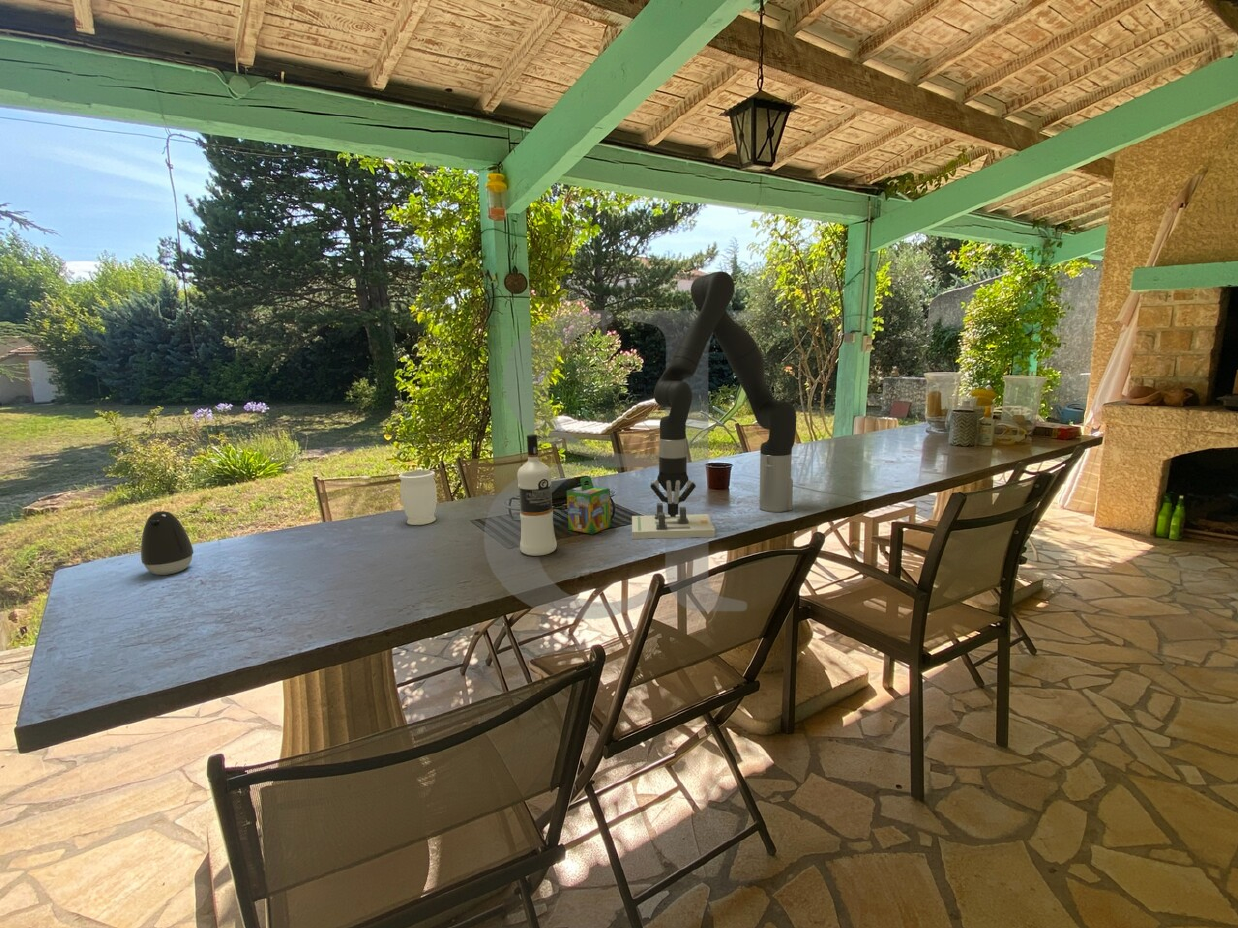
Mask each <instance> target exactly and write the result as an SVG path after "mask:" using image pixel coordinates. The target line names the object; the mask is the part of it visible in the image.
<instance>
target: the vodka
mask: <svg viewBox="0 0 1238 928" xmlns="http://www.w3.org/2000/svg"><path fill="white" fill-rule="evenodd" d="M526 442H527V443H526V446H527V462H525V463H524V464H523V465H521V466H520V467H519V468H518V470H517V474H516V476H517V481H518V483H517V486H518V492H519V509H520V513H519V517H520V530H521V531H520V542H519V549H520V551H521V552H522V553H523V554H524V555H527V556H529V557H530V556H531V557H540V556H545V555H549V554H551V553H554V551H555V550H556V549H557V547H558V546H557V545H558V544H557V543H558V542H557V538H556V535H555V528H554V516H553V515H554V511H553V499H552V498H553V497H552V472H551V469H550V467H549V465H546V464H545V463H543V462H542V461H540V459H539V447H538V446H539V445H538V444H539V443H538V435H537V434H532V433H530V434H527V435H526Z"/></svg>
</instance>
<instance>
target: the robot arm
mask: <svg viewBox="0 0 1238 928" xmlns="http://www.w3.org/2000/svg"><path fill="white" fill-rule="evenodd" d="M735 290H736V289H735V281H734V278H733V277H732V276H731V275H730V274H729V273H727V272H726V271H723V270H722V271H721V270H720V271H714V272H711V273H707V274H705V275H701V276H699V277H697V278H695V279H694V280H693V282H692V283H691V286H690V295H691V299H692V301H693V303H694V305H695V307H696V308H697V310H698V313H699V314H698V315H697V317H696V318H695V320H694V321H693V323H692V324H691V325H690V326H689V328H688V329H687V330H686V332H685V333H684V335H683V336H682V337H681V340H680V341H679V342H678V345H677V346H676V349H675V352H674V354H673V357H672V359H671V362H670V363H669V365H668V367H666V369H665V370H664V372H663V373H662V375H661V376H660V377H659V379H658V380H657V382H656V384H655V387H654V389H653V397H654V400H655V402H656V404H657V405H658V406H661V407H667V408H670V410H669V414H668V415H667V416H662V417H661V418H660V420H659V444H658V476H657V477H656V480H654V481H653V482H651V483H650V489H652V491H653V492H654V493H655V495H656V496H657V497H658V498H659V500H660V501H661V503H667V515H670V517H676V515H679V504H680V503H682V502H685V501H686V499H688V497H689V496H690V495H691V494H692V492H693V491H694V490H695V488H696V483H695V482H694V481H691V479H689V476H688V472H687V471H688V470H687V469H688V467H687V463H688V462H687V459H688V458H687V457H688V451H687V450H688V447H687V446H688V445H687V437H686V436H687V434H686V433H687V420H688V416H689V412H690V409H691V405H692V401H693V392H692V389H691V386H690V384H689V383H688V382H686V381H684V380H686V379H688V378H691V377H693V376H695V373H696V371H697V369H698V366H699V365H700V361H701V359H702V357H703V353H704V351H705V349H706V347H707V344H708V342H709V341H710V338H711V336H712V334H713V335H714V338H715V339H716V340H717V343H718V344H719V346H720V348H721V349H722V352H723V354H724V356H725V358H726V360H727V362H728V364H729V366H730V368H731V369H732V372H733V373H734V374H735V377H736V378H737V379H738V382H739V384H740V386H741V388H742V390H743V391H744V393H745V395H746V398H747V401H748V403H749V405H750V408H751V410H752V413H753V415H754V418H755V420H756V422H757V424H758V425H759V426H760V427H761V428H763V429H765V430H768V438H767V440H766V441H765V442H762V443H761V444H760V451H759V453H760V454H759V455H760V456H759V457H760V458H759V464H760V465H759V500H758V502H759V503H758V504H759V505H758V506H759V509H760V510H763V511H765V512H772V513H781V512H787V511H788V512H789V511H792V510H793V495H794V494H793V493H794V492H793V491H794V489H793V488H794V479H793V478H792V459H793V458H792V455H793V447H794V446H795V443H796V442H795V441H796V434H797V433H796V431H797V430H796V429H797V411H796V408H795V406H794V404H792V403H791V402H790V401H786V400H779V399H776V398H775V397H774V396H773V395H772V393H771V391H770V389H769V387H768V385H767V383H766V378H765V377H766V376H765V369H766V368H765V361H764V356H763V354H762V352H761V350H760V349H759V347H758V344H757V342H756V340H755V339H754V338H753V336H752V335H751V334H750V333H749V332H748V331H746V330H745V329H744V327H742V326H740V324H739V323H737V322H736V321H735V320H734V319H733V318H732V317H731V316H730V315H729V313H728V311H727V308H728V306H729V304H730V303H731V301H732V300H733V297H734V294H735ZM659 484H660V485H659ZM660 486H661V487H662V489H663V490H664V491H666V496H665V495H664V493H663V492H662V491H661V490H660ZM685 486H686V488H685V490H684V491H683V492H682V493H681V494H680V491H681V490H683V488H684V487H685ZM672 492H673V493H672ZM672 494H673V495H672Z"/></svg>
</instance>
